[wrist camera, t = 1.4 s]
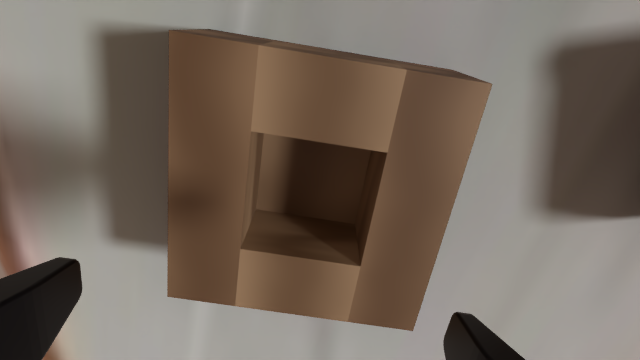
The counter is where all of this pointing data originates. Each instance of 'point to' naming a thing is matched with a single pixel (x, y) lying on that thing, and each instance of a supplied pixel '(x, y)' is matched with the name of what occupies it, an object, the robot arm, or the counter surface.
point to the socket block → (311, 175)
